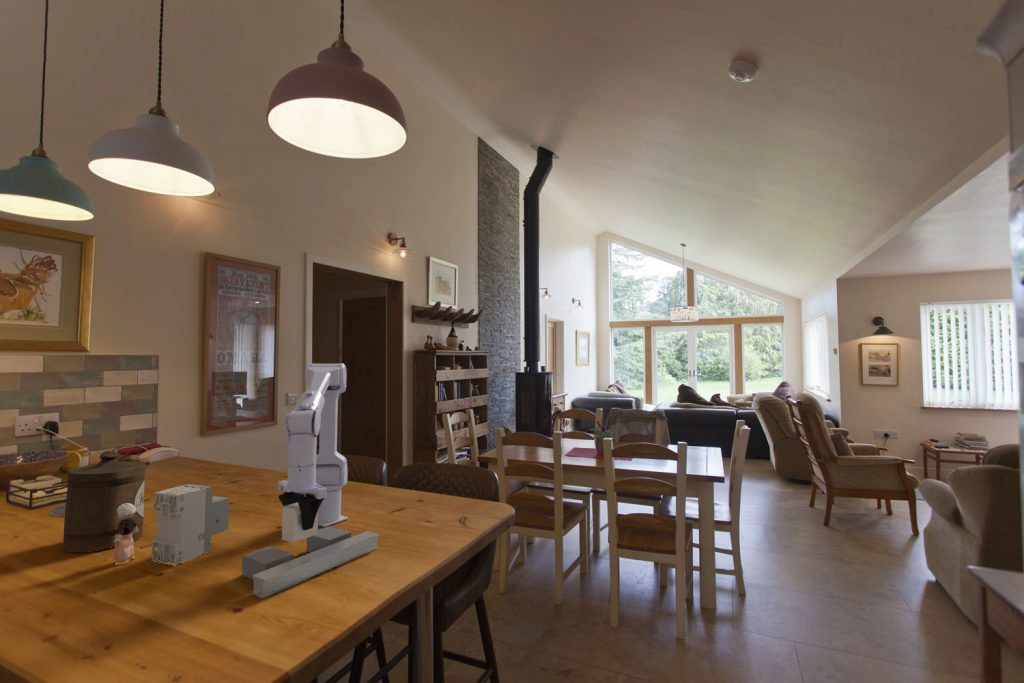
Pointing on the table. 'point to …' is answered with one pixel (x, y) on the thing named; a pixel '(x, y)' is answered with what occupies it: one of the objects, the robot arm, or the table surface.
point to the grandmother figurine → (125, 534)
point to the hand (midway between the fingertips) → (300, 527)
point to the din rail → (313, 564)
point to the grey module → (295, 524)
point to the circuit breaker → (187, 522)
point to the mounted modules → (275, 556)
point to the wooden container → (101, 502)
